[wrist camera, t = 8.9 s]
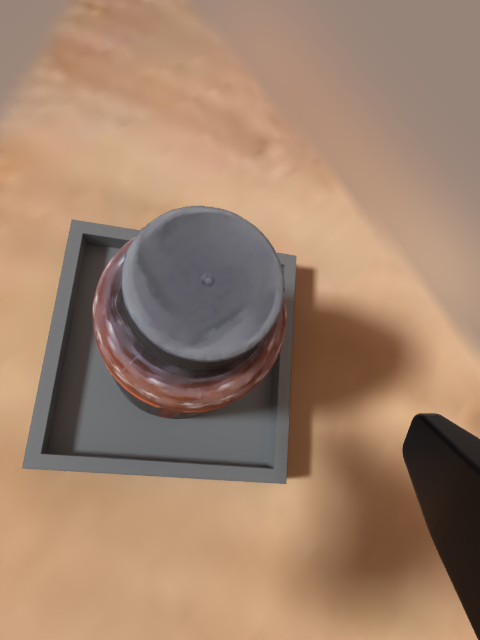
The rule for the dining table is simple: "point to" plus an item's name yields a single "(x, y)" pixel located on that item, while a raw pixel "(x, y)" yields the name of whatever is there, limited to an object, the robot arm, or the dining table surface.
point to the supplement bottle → (191, 312)
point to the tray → (127, 419)
